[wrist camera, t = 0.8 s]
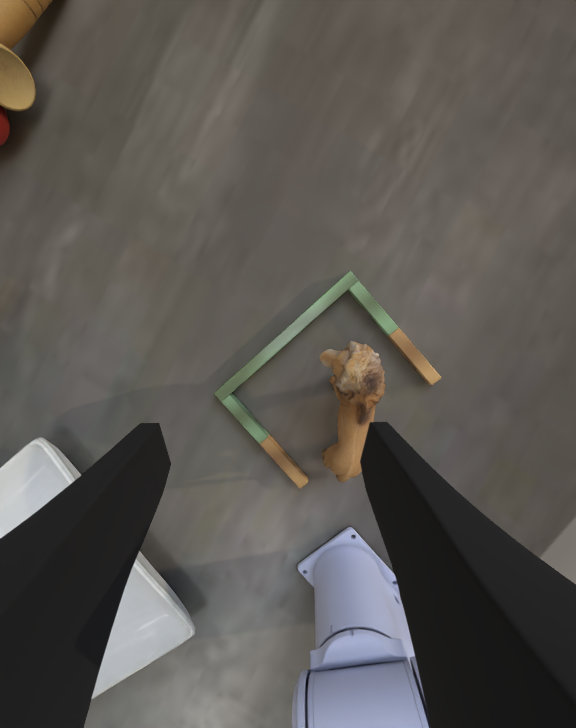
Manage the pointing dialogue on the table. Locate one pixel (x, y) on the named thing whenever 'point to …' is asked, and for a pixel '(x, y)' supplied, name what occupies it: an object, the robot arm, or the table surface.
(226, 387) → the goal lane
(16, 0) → the kendama
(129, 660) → the square plate
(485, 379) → the table surface
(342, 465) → the lion figurine
